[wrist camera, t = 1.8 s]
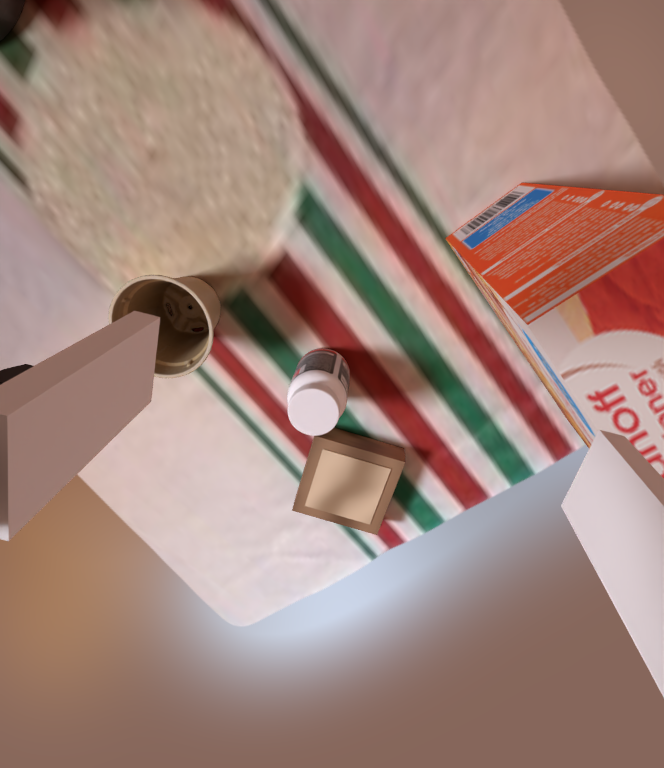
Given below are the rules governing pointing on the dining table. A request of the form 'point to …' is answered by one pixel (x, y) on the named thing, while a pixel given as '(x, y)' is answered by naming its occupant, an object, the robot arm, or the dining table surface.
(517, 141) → the dining table surface
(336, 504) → the base block
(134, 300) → the flower pot
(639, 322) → the pasta box
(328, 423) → the pill bottle
